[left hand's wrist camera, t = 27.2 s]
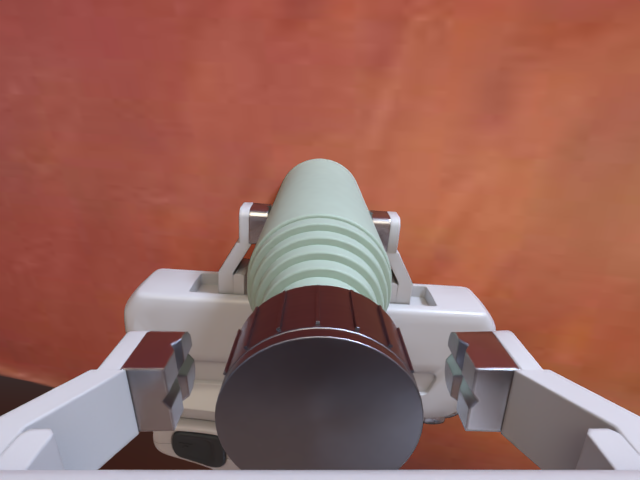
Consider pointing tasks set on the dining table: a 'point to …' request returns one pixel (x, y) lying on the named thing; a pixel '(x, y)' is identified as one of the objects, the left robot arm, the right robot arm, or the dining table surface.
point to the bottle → (319, 238)
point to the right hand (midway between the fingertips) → (319, 209)
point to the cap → (319, 386)
